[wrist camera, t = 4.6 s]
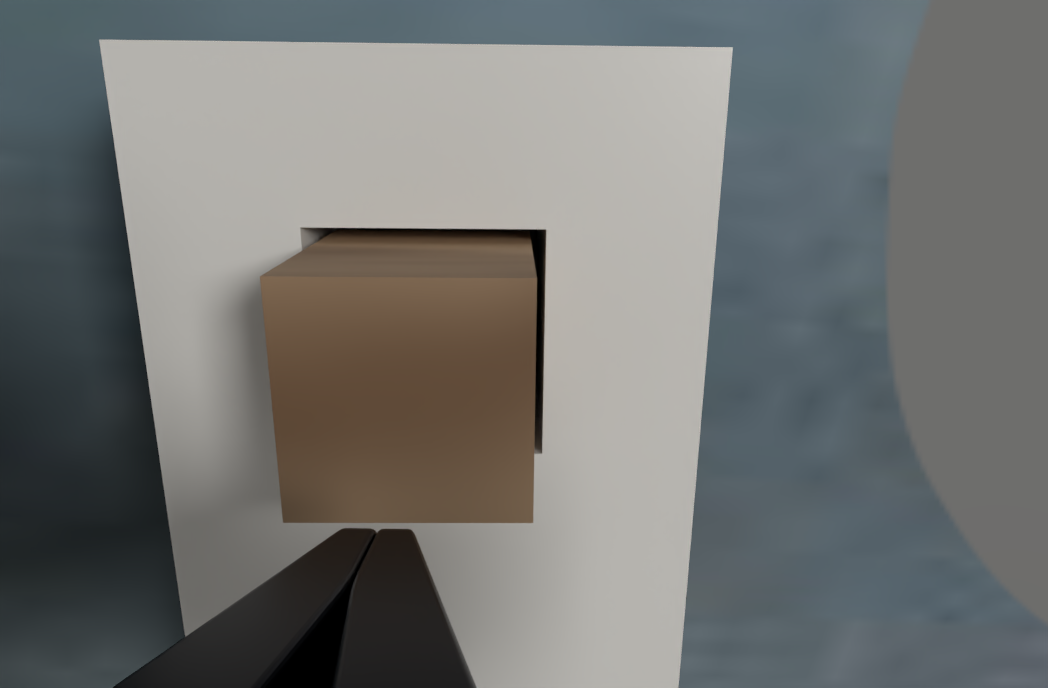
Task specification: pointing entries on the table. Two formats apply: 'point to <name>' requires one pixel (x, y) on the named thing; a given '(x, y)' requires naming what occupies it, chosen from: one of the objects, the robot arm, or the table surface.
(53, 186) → the table surface
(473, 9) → the table surface
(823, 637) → the table surface
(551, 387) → the white peg base
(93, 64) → the table surface
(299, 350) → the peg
